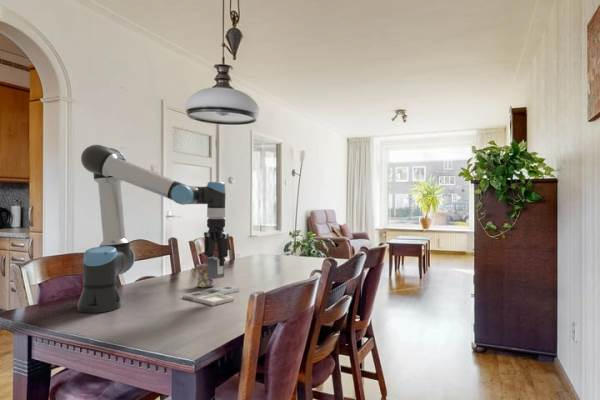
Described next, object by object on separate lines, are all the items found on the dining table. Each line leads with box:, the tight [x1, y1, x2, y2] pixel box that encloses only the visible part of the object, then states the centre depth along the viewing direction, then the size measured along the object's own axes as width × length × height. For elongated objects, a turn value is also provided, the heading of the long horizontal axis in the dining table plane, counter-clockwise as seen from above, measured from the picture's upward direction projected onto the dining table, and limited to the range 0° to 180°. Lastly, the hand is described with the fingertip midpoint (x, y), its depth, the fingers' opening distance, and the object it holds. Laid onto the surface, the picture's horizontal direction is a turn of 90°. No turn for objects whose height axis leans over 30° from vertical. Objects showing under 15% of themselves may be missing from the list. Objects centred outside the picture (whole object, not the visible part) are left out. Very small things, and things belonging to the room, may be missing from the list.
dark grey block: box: [206, 256, 225, 280], centre depth 170 cm, size 5×5×8 cm
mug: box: [190, 263, 215, 289], centre depth 199 cm, size 12×9×11 cm
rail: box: [182, 285, 241, 302], centre depth 182 cm, size 26×8×2 cm, turn 141°
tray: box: [195, 293, 235, 307], centre depth 170 cm, size 11×11×2 cm
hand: (215, 272), depth 170 cm, fingers closed on dark grey block, 5 cm apart
